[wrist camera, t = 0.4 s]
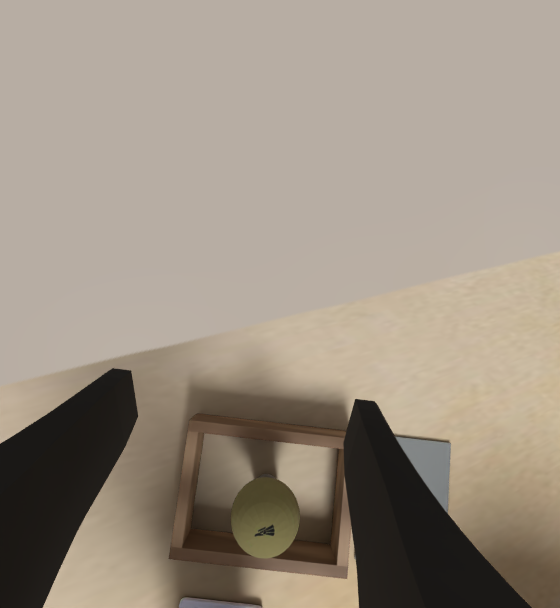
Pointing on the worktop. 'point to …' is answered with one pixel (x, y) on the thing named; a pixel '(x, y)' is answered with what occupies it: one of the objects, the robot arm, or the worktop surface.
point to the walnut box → (224, 545)
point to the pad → (430, 464)
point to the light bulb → (265, 517)
